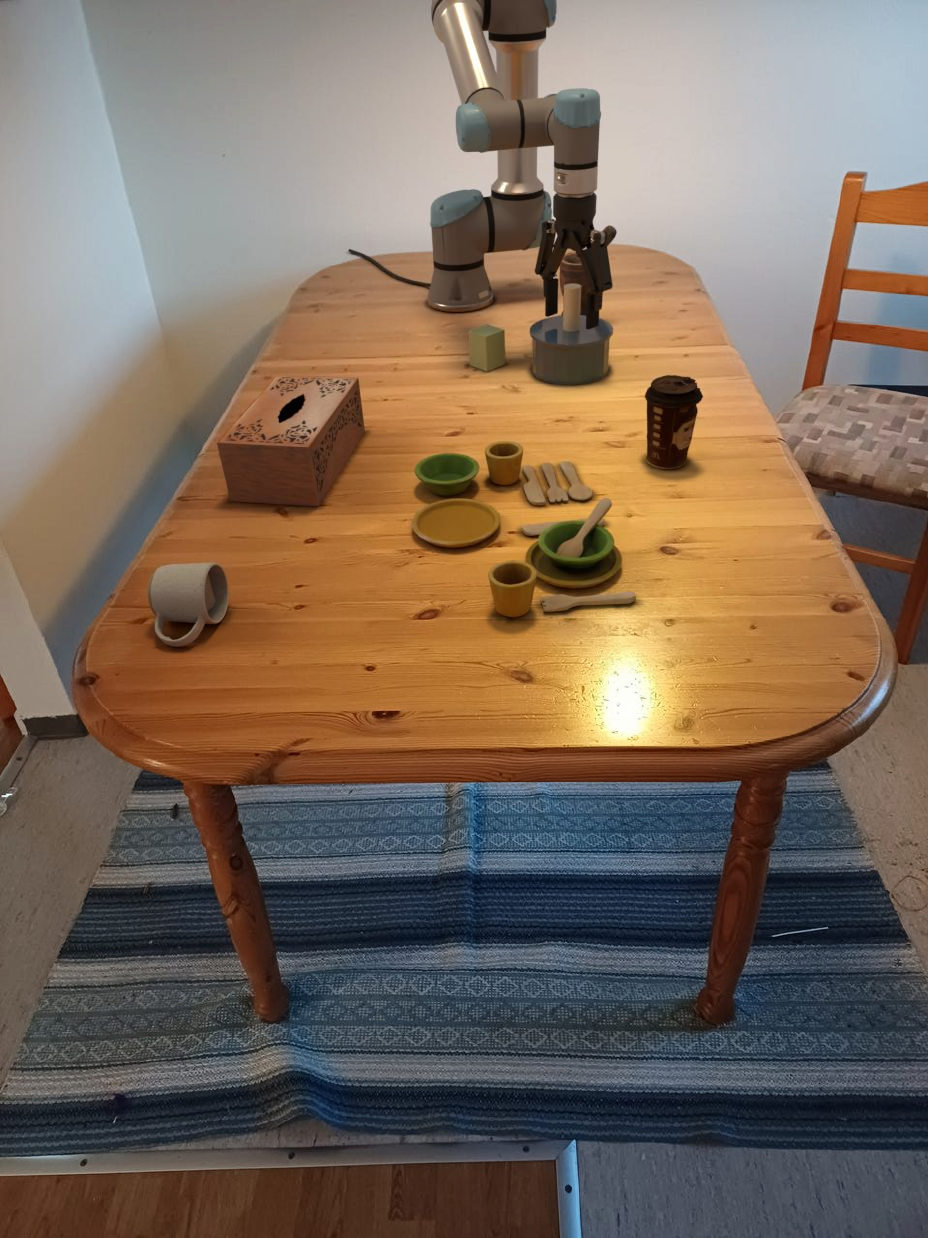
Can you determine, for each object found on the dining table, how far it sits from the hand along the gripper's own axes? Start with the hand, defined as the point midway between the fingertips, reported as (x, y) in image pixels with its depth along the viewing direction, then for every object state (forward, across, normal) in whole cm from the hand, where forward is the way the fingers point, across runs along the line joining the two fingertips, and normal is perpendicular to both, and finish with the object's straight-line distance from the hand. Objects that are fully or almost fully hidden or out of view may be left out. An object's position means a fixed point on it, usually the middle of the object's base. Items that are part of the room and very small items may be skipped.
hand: (571, 320), depth 169 cm
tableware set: (+10, +35, -50) cm, 62 cm away
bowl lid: (+2, 0, 0) cm, 2 cm away
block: (+10, -14, -9) cm, 19 cm away
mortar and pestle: (+10, -17, +23) cm, 30 cm away
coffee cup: (+10, +37, -17) cm, 42 cm away
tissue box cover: (+10, -5, -59) cm, 60 cm away
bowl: (+10, 0, 0) cm, 10 cm away
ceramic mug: (+10, +21, -93) cm, 96 cm away
